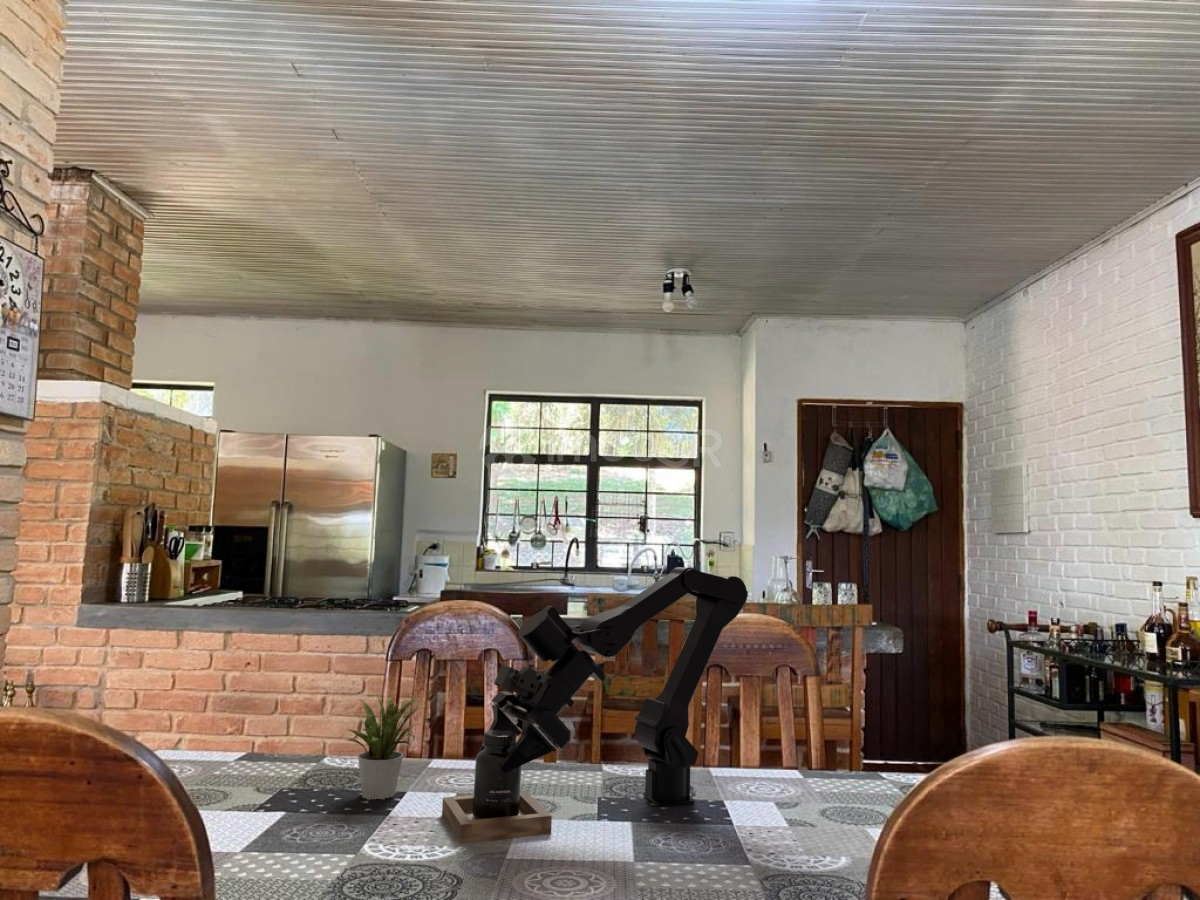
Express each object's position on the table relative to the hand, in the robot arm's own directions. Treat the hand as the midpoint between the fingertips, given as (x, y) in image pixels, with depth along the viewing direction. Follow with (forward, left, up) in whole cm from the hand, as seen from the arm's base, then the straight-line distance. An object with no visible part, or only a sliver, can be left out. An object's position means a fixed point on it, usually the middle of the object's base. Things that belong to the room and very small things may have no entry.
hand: (490, 763), depth 117 cm
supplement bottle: (-1, 0, -8) cm, 8 cm away
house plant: (+12, -19, -9) cm, 24 cm away
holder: (-1, 0, -9) cm, 9 cm away
